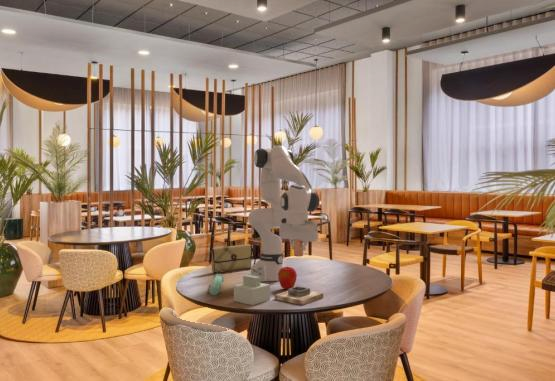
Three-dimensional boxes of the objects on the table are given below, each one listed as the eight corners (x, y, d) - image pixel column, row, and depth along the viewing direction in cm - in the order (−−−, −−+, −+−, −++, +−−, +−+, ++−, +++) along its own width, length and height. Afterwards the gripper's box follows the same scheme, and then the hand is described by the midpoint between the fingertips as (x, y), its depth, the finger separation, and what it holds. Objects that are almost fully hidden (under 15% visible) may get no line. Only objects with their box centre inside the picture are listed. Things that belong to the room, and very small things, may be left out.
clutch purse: (214, 275, 271) (214, 249, 270) (209, 273, 277) (208, 247, 276) (258, 269, 288) (258, 244, 287) (252, 267, 293) (252, 243, 293)
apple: (274, 289, 235) (274, 265, 234) (287, 286, 241) (286, 263, 241) (287, 292, 228) (287, 268, 228) (300, 289, 235) (300, 265, 234)
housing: (233, 300, 214) (233, 276, 214) (251, 295, 223) (251, 272, 223) (252, 305, 207) (252, 280, 206) (269, 299, 216) (269, 275, 215)
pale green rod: (217, 283, 224) (221, 271, 249) (205, 288, 224) (210, 276, 249) (222, 294, 224) (225, 282, 249) (210, 299, 224) (215, 286, 249)
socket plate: (274, 299, 216) (274, 289, 216) (296, 292, 229) (296, 283, 229) (302, 305, 206) (302, 294, 206) (323, 297, 218) (323, 287, 218)
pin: (292, 255, 216) (292, 238, 216) (297, 254, 220) (297, 237, 219) (299, 256, 214) (299, 239, 214) (304, 255, 217) (304, 238, 217)
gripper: (320, 220, 212) (321, 251, 212) (285, 218, 225) (286, 247, 226) (312, 221, 207) (312, 252, 208) (277, 219, 220) (277, 248, 221)
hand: (298, 249), depth 217 cm, fingers closed on pin, 4 cm apart
